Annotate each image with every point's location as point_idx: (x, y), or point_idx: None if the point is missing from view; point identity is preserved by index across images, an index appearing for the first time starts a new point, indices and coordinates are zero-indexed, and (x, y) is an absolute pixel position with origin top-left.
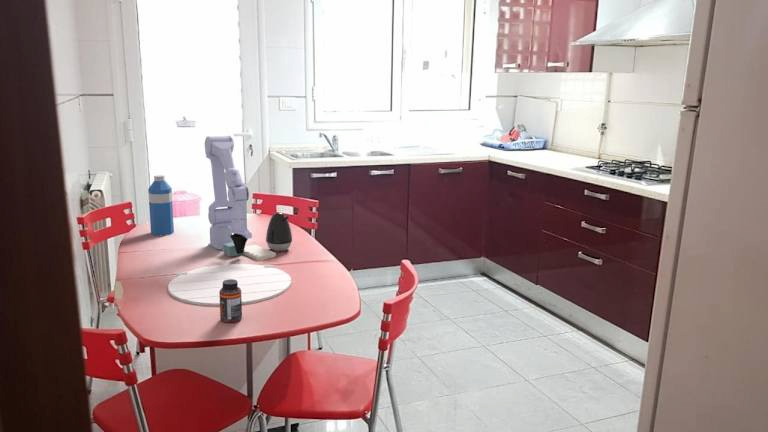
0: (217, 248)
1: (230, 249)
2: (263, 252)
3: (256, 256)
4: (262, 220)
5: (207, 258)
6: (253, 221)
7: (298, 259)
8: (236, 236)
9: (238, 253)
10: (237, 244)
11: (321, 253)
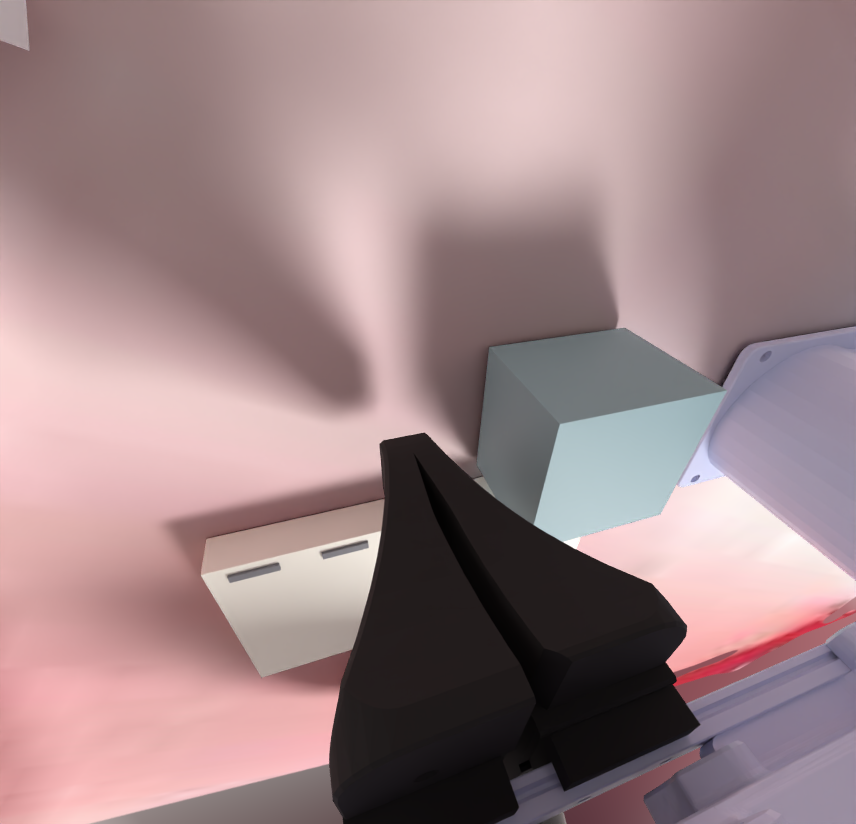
0: (775, 342)
1: (533, 406)
2: (336, 616)
3: (228, 566)
4: (795, 610)
5: (675, 41)
6: (821, 589)
7: (105, 739)
8: (447, 756)
9: (381, 446)
10: (382, 556)
11: (206, 789)
